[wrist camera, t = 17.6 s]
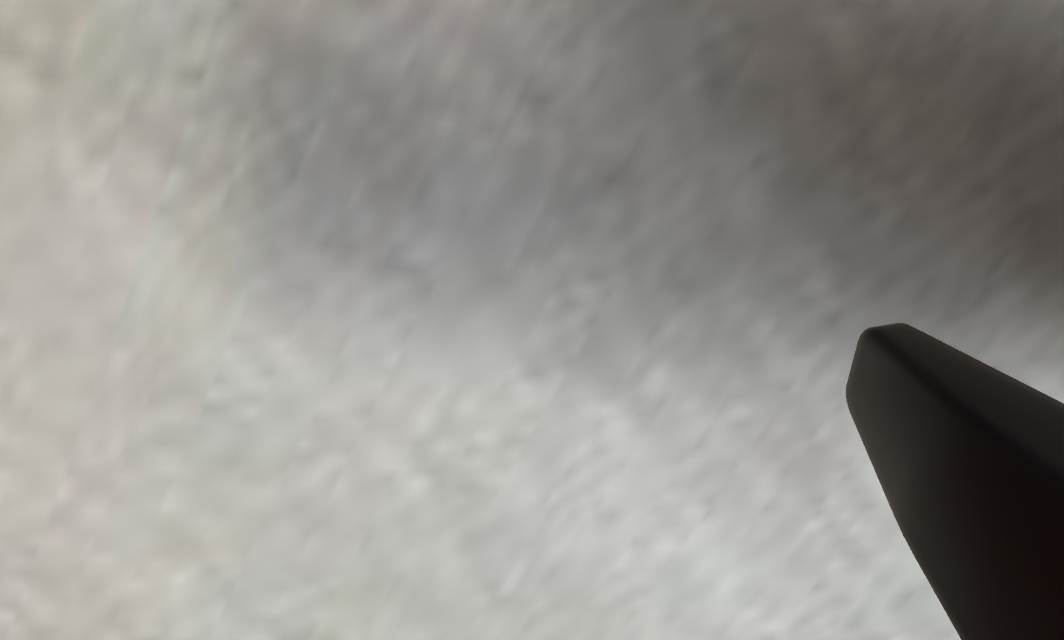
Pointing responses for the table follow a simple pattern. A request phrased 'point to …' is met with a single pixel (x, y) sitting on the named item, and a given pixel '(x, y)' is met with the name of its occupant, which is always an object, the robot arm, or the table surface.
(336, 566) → the table surface
